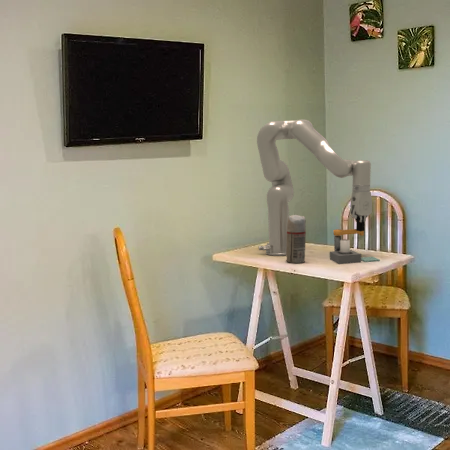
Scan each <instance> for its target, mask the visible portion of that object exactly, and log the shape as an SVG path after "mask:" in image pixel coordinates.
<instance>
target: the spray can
mask: <svg viewBox="0 0 450 450" xmlns="http://www.w3.org/2000/svg"><path fill="white" fill-rule="evenodd" d="M306 227H307V226H306V217H305V216H304V215H299V214H292V215H289V217H288V223H287V243H286V244H287V245H286V246H287V248H286V255H285V256H286V260H285V261H286V262H287V263H289V264H290V263H294V264H300V263H301V264H302V263H305V262H306V261H305V259H306V241H307V239H306V234H307V231H306Z"/></svg>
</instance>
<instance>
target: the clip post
mask: <svg viewBox="0 0 450 450" xmlns="http://www.w3.org/2000/svg"><path fill="white" fill-rule="evenodd" d="M333 237H334V239H333V241H334V242H333V243H334V244H333V247H334V248H333V251H340V240H342V235H340V236H335V235H333Z"/></svg>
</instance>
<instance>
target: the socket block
mask: <svg viewBox="0 0 450 450" xmlns="http://www.w3.org/2000/svg"><path fill="white" fill-rule="evenodd" d="M350 250H351V253H350V254H340V253H339V251H334V250H332V251H329V260H330V261H332V262H334V263H336V264H338V265H344V264H353V263H354V264H355V263H362V261H361V257H362V254H361V253H359V252H357V251H354V250H352V249H350Z"/></svg>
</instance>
